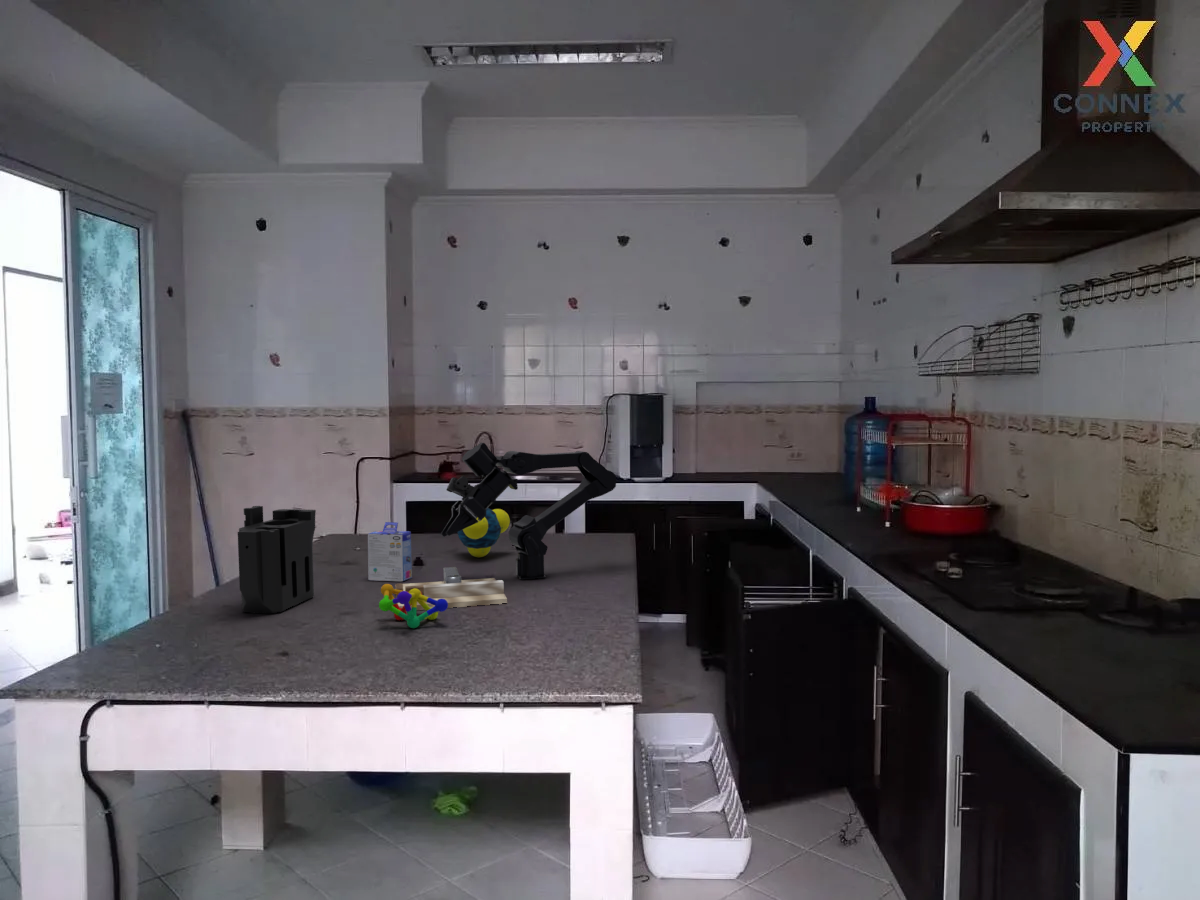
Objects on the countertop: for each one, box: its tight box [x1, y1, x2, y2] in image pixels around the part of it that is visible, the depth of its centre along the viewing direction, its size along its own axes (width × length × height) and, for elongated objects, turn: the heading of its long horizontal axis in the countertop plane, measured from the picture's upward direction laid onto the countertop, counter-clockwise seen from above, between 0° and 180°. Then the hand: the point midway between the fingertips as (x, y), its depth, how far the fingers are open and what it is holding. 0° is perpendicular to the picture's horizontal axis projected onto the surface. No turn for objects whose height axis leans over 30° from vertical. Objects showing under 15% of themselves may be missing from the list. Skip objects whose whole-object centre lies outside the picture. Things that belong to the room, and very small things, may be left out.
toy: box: [456, 507, 511, 558], centre depth 241 cm, size 16×17×15 cm
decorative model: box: [378, 583, 449, 629], centre depth 173 cm, size 13×9×15 cm
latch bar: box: [442, 566, 462, 584], centre depth 199 cm, size 13×4×3 cm, turn 15°
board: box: [394, 577, 508, 611], centre depth 196 cm, size 24×22×4 cm
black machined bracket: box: [237, 505, 317, 614], centre depth 188 cm, size 12×21×22 cm, turn 169°
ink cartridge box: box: [367, 521, 413, 582], centre depth 214 cm, size 10×6×14 cm, turn 78°
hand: (444, 534), depth 205 cm, fingers open, 9 cm apart
